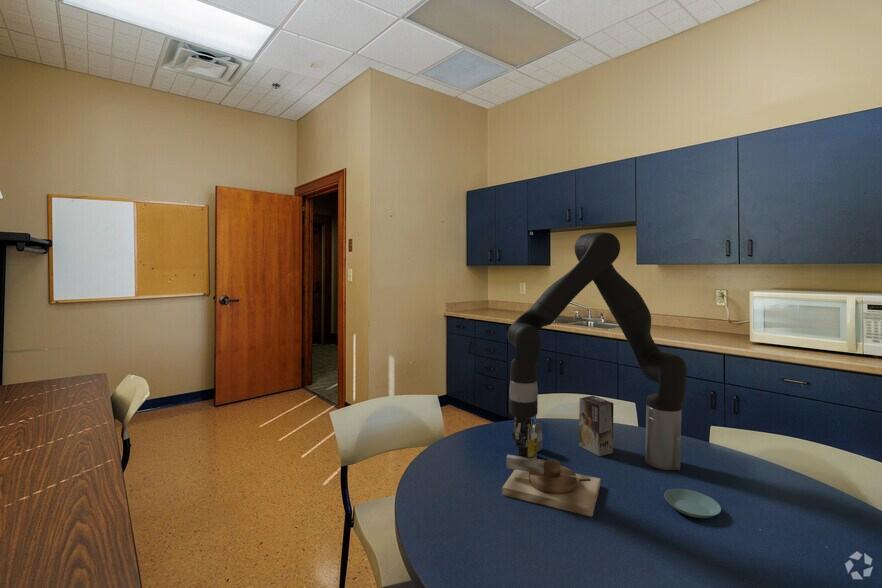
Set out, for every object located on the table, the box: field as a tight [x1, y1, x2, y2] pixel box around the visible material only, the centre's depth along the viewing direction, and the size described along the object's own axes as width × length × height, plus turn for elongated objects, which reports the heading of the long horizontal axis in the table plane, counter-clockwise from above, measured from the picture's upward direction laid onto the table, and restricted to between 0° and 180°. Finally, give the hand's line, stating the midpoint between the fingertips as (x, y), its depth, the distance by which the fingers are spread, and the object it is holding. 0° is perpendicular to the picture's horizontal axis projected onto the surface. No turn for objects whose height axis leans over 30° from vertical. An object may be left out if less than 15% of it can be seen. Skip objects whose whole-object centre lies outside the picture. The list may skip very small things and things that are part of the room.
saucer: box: [663, 488, 722, 519], centre depth 103 cm, size 12×12×2 cm
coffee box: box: [578, 395, 615, 457], centre depth 137 cm, size 9×6×16 cm
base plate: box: [501, 469, 601, 518], centre depth 112 cm, size 22×16×2 cm
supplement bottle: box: [528, 425, 538, 459], centre depth 132 cm, size 5×5×10 cm
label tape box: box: [513, 415, 543, 453], centre depth 139 cm, size 9×4×12 cm, turn 43°
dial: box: [505, 454, 581, 493], centre depth 113 cm, size 19×12×5 cm, turn 70°
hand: (523, 458), depth 117 cm, fingers closed
